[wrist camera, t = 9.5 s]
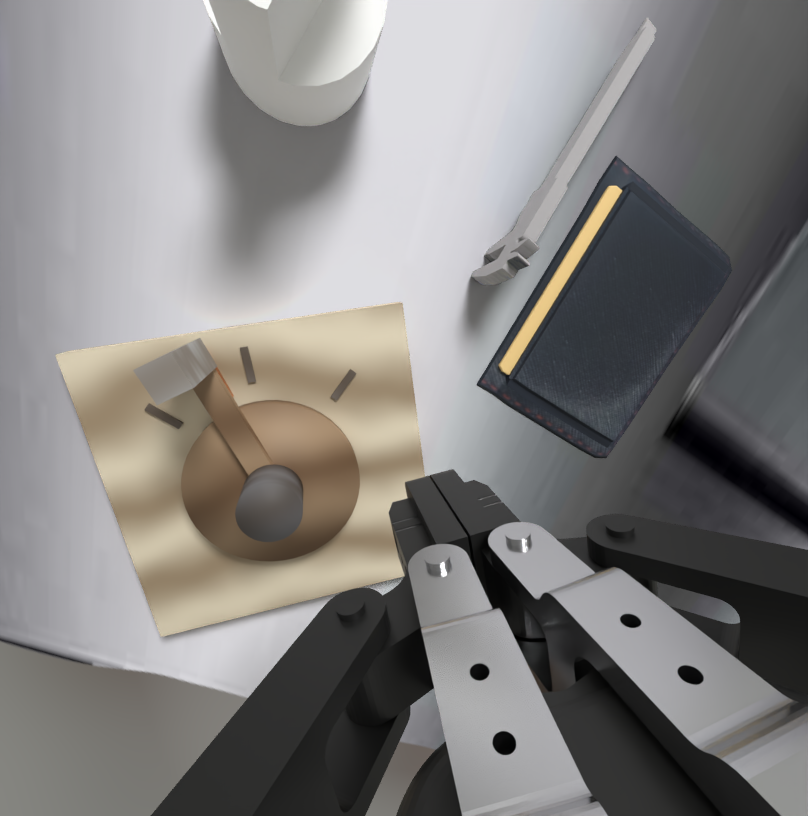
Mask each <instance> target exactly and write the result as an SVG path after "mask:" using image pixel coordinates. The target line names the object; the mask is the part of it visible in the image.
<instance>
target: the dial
mask: <svg viewBox="0 0 808 816" xmlns="http://www.w3.org/2000/svg"><path fill="white" fill-rule="evenodd" d="M216 367H217V364H216V363H215V361H214V360H213V358H212V356H211V355H210V353H209V351H208V350H207V348H206V347H205V345H204V343H203V342H202V340H201V338H198V339H196V340H194V341H192V342H190V343H188V344H186V345H183V346H181V347H179V348H177V349H175V350H173V351H171V352H169V353H167V354H165V355H163V356H161V357H159V358H157V359H154V360H152V361H150V362H148V363H146V364H144V365H142V366H140V367H138V368H136V369H134V370H133V371H134V373H135V374H136V376H137V377H138V378H139V380H140V381H141V383H142V384H143V386H144V387H145V389H146V390H147V392H148V393H149V394H150V396H151V397H152V399H153V400H154V402H155V403H156V405H159V404H161V403H163V402H165V401H167V400H169V399H171V398H174V397H176V396H178V395H180V394H182V393H184V392H186V391H188V390H190V389H193V390H194V392H195V393H196V395H197V396H198V398H199V399H200V401H201V402H202V404H203V406H204V407H205V409H206V410H207V412H208V413H209V415H210V416H211V418H212V419H213V422H211V423H210V424H209V425H208V426H207V427H206V428H205V429H204V430H203V432H202V433H201V434H200V436H199V437H198V438H197V440H196V441H195V442H194V444H193V445H192V447H191V449H190V451H189V453H188V455H187V457H186V460H185V463H184V466H183V471H182V477H181V490H182V498H183V502H184V505H185V508H186V511H187V513H188V515H189V517H190V519H191V521H192V522H193V524H194V525H195V527H196V528H197V529H198V530H199V531H200V533H201V534H202V535H203V536H204V537H205V538H206V539H208V540H209V541H210V542H211V543H213V544H214V545H215V546H217V547H218V548H220V549H222V550H224V551H226V552H228V553H230V554H233V555H235V556H238V557H241V558H245V559H249V560H256V561H283V560H288V559H293V558H297V557H300V556H303V555H306V554H308V553H310V552H313V551H315V550H316V549H318V548H320V547H322V546H323V545H325V544H326V543H327V542H329V541H330V540H331V539H333V538H334V537H335V536H336V535H337V534H338V533H339V532H340V531H341V529H342V528H343V527H344V526H345V524H346V523H347V521H348V520H349V518H350V517H351V515H352V513H353V510H354V508H355V506H356V503H357V499H358V495H359V489H360V474H359V467H358V463H357V459H356V456H355V452H354V450H353V448H352V446H351V443H350V442H349V440H348V438H347V437H346V435H345V434H344V433H343V431H342V430H341V429H340V428H339V427H338V426H337V425H336V424H335V423H334V422H333V421H332V420H331V419H329V418H328V417H326V416H325V415H324V414H322V413H320V412H318V411H317V410H315V409H313V408H310V407H308V406H305V405H302V404H299V403H295V402H290V401H282V400H264V401H256V402H251V403H248V404H244V405H241V406H238V405H237V403H236V401H235V400H234V398H233V397H232V395H231V393H230V392H229V390H228V388H227V387H226V385H225V384H224V382H223V380H222V379H221V377H220V375H219V374H218V372H217V371H216V369H215V368H216Z"/></svg>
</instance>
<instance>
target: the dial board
mask: <svg viewBox="0 0 808 816" xmlns="http://www.w3.org/2000/svg"><path fill="white" fill-rule="evenodd" d="M198 338H201V340H202V342H203V343H204V345H205V347H206V348H207V350H208V351H209V353H210V355H211V356H212V358H213V360H214V361H215V363H216V364H217V367H216V368H215V369H216V371H217V372H218V374H219V375H220V377H221V379H222V380H223V382H224V384H225V385H226V387H227V388H228V390H229V392H230V393H231V395H232V397H233V398H234V400H235V401H236V403H237V405H238V406H241V405H244V404H248V403H251V402H256V401H264V400H282V401H290V402H295V403H299V404H302V405H305V406H308V407H310V408H313V409H315V410H317V411H318V412H320V413H322V414H324V415H325V416H326V417H328V418H329V419H331V420H332V421H333V422H334V423H335V424H336V425H337V426H338V427H339V428H340V429H341V430H342V431H343V433H344V434H345V435H346V437H347V438H348V440H349V442H350V443H351V446H352V448H353V450H354V452H355V456H356V459H357V463H358V467H359V474H360V489H359V495H358V499H357V503H356V506H355V508H354V510H353V513H352V515H351V517H350V518H349V520H348V521H347V523H346V524H345V526H344V527H343V528H342V529H341V531H340V532H339V533H338V534H337V535H336V536H335V537H334V538H333V539H331V540H330V541H329V542H327V543H326V544H325V545H323V546H322V547H320V548H318V549H316V550H315V551H313V552H310V553H308V554H306V555H303V556H300V557H297V558H293V559H288V560H283V561H256V560H249V559H245V558H241V557H238V556H235V555H233V554H230V553H228V552H226V551H224V550H222V549H220V548H218V547H217V546H215V545H214V544H213V543H211V542H210V541H209V540H208V539H206V538H205V537H204V536H203V535H202V534H201V533H200V531H199V530H198V529H197V528H196V527H195V525H194V524H193V522H192V521H191V519H190V517H189V515H188V513H187V511H186V508H185V505H184V502H183V498H182V490H181V477H182V471H183V466H184V463H185V460H186V457H187V455H188V453H189V451H190V449H191V447H192V445H193V444H194V442H195V441H196V440H197V438H198V437H199V436H200V434H201V433H202V432H203V430H204V429H205V428H206V427H207V426H208V425H209V424H210V423H211V422H213V419H212V418H211V416H210V415H209V413H208V412H207V410H206V409H205V407H204V406H203V404H202V402H201V401H200V399H199V398H198V396H197V395H196V393H195V392H194V390H193V389H190V390H188V391H186V392H184V393H182V394H180V395H178V396H176V397H174V398H171V399H169V400H167V401H165V402H163V403H161V404H159V405H156V403H155V402H154V400H153V399H152V397H151V396H150V394H149V393H148V392H147V390H146V389H145V387H144V386H143V384H142V383H141V381H140V380H139V378H138V377H137V376H136V374H135V373H134V371H133V370H134V369H136V368H138V367H140V366H142V365H144V364H146V363H148V362H150V361H152V360H154V359H157V358H159V357H161V356H163V355H165V354H167V353H169V352H171V351H173V350H175V349H177V348H179V347H181V346H183V345H186V344H188V343H190V342H192V341H194V340H196V339H198ZM56 358H57V361H58V363H59V366H60V369H61V372H62V374H63V377H64V380H65V382H66V385H67V388H68V390H69V393H70V396H71V398H72V401H73V404H74V406H75V409H76V412H77V414H78V417H79V420H80V422H81V425H82V428H83V430H84V433H85V436H86V438H87V441H88V444H89V446H90V449H91V452H92V454H93V457H94V460H95V462H96V465H97V468H98V470H99V473H100V476H101V478H102V481H103V484H104V486H105V489H106V492H107V494H108V497H109V500H110V502H111V505H112V508H113V510H114V513H115V516H116V518H117V521H118V524H119V526H120V529H121V532H122V534H123V537H124V540H125V542H126V545H127V548H128V550H129V553H130V556H131V558H132V561H133V564H134V566H135V569H136V572H137V574H138V577H139V580H140V582H141V585H142V588H143V590H144V593H145V596H146V598H147V601H148V604H149V606H150V609H151V612H152V614H153V617H154V620H155V622H156V625H157V628H158V630H159V633H160V636H161V637H163V636H167V635H171V634H175V633H179V632H183V631H187V630H191V629H195V628H199V627H203V626H207V625H211V624H215V623H219V622H223V621H227V620H231V619H235V618H239V617H243V616H247V615H251V614H255V613H259V612H263V611H267V610H271V609H275V608H279V607H283V606H287V605H291V604H295V603H299V602H303V601H307V600H311V599H315V598H319V597H323V596H327V595H331V594H335V593H339V592H343V591H347V590H351V589H355V588H359V587H363V586H367V585H371V584H375V583H379V582H383V581H387V580H391V579H395V578H399V577H403V576H405V575H404V572H403V569H402V566H401V563H400V560H399V557H398V553H397V548H396V544H395V539H394V535H393V530H392V526H391V521H390V517H389V510H390V508H391V505H392V502H396V501H399V500H403V499H407V494H406V489H405V482H407V481H411V480H415V479H418V478H422V477H425V474H424V466H423V458H422V450H421V443H420V435H419V427H418V419H417V412H416V404H415V396H414V388H413V381H412V373H411V365H410V357H409V350H408V342H407V334H406V326H405V319H404V311H403V303H401V302H395V303H388V304H381V305H375V306H368V307H361V308H354V309H348V310H341V311H334V312H328V313H321V314H314V315H308V316H301V317H294V318H287V319H281V320H274V321H267V322H261V323H254V324H247V325H240V326H234V327H227V328H220V329H214V330H207V331H200V332H193V333H187V334H180V335H173V336H167V337H160V338H153V339H147V340H140V341H133V342H126V343H120V344H113V345H106V346H100V347H93V348H86V349H79V350H73V351H67V352H63V353H60V354H56Z"/></svg>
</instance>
